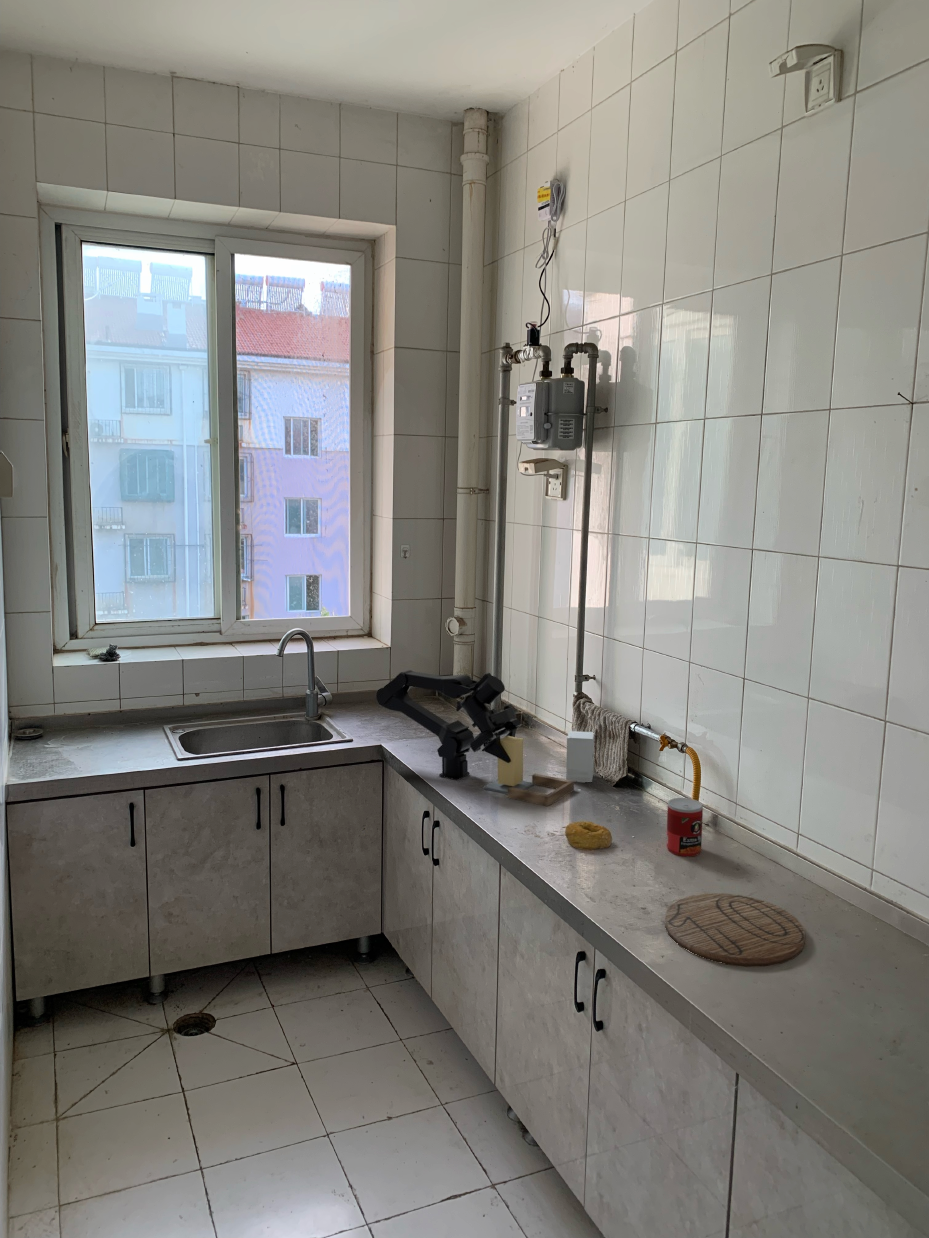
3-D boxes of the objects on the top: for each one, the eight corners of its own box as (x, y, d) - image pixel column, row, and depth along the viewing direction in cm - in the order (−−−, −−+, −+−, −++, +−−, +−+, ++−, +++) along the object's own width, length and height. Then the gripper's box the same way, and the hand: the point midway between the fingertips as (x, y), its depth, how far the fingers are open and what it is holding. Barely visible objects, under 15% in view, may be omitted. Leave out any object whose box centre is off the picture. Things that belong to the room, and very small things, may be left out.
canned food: (682, 859, 203) (683, 812, 202) (658, 846, 210) (660, 800, 209) (708, 853, 207) (710, 806, 205) (685, 840, 214) (686, 795, 212)
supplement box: (592, 783, 254) (593, 739, 252) (565, 781, 255) (565, 737, 253) (594, 774, 261) (594, 731, 259) (567, 773, 262) (568, 730, 260)
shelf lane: (507, 797, 243) (507, 788, 243) (534, 782, 255) (534, 773, 254) (548, 806, 236) (548, 796, 236) (573, 790, 248) (573, 781, 248)
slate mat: (483, 788, 250) (483, 786, 250) (502, 778, 258) (502, 776, 258) (515, 795, 244) (515, 793, 244) (534, 785, 252) (534, 782, 252)
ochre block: (497, 782, 250) (497, 740, 248) (507, 777, 254) (507, 735, 252) (513, 786, 247) (513, 743, 245) (522, 781, 251) (523, 738, 249)
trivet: (723, 981, 156) (723, 970, 155) (638, 916, 178) (638, 907, 178) (835, 950, 165) (835, 940, 165) (741, 892, 188) (741, 884, 188)
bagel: (602, 855, 206) (602, 834, 206) (557, 846, 212) (557, 826, 211) (618, 840, 215) (619, 821, 214) (575, 832, 220) (575, 813, 220)
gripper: (479, 703, 241) (515, 751, 237) (515, 689, 257) (550, 734, 252) (454, 728, 247) (489, 775, 243) (491, 713, 262) (525, 757, 258)
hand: (514, 759), depth 249 cm, fingers closed on ochre block, 5 cm apart
